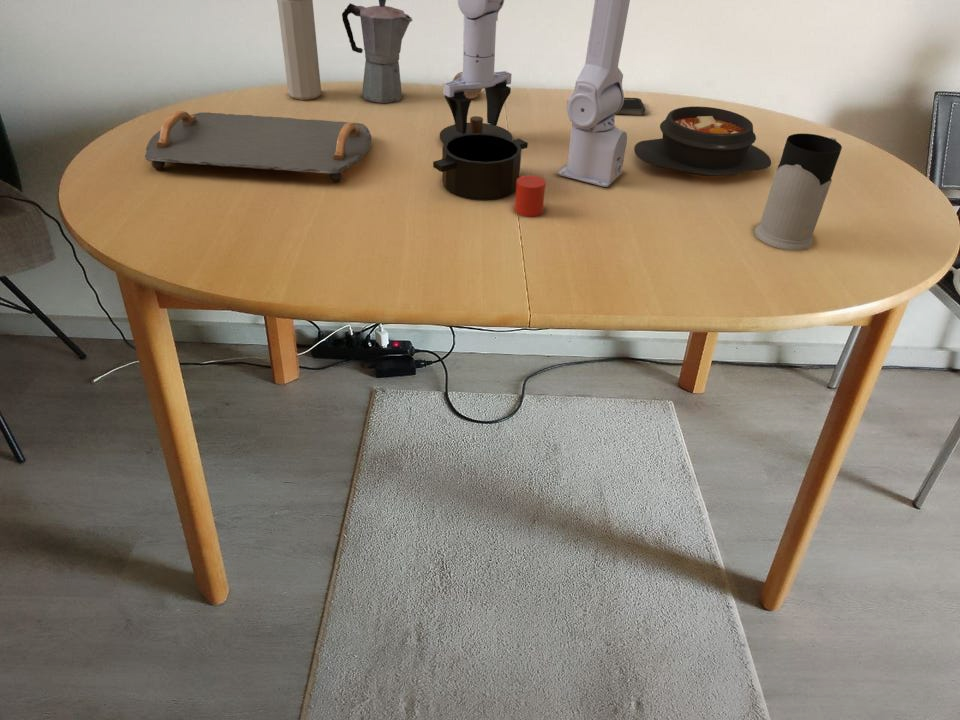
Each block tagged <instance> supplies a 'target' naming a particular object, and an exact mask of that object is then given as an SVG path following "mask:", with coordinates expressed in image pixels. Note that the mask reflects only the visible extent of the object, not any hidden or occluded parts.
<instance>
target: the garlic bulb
mask: <svg viewBox="0 0 960 720" xmlns="http://www.w3.org/2000/svg"><path fill="white" fill-rule="evenodd" d="M462 74H463V71H459V72H458V73H457V74H456V75H455V76H454V77H453V78H452V81H453V80H456V79H458V78H460V77H462ZM482 90H483V89H479V90H474V91H470V92H465V93H464V95H466V98H468V99H476V98H477V97H478V96H479V95H480V93H481V91H482Z"/></svg>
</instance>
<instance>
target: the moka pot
mask: <svg viewBox="0 0 960 720" xmlns="http://www.w3.org/2000/svg"><path fill="white" fill-rule="evenodd" d="M386 3H387V0H378V5H372V6H368V7H367V6H362V5H355V4H353V3H348V5H347V6H346V8H345V9H344V11H343V12H342V13H341V18H342V23H343V25H344V29H345V31H346V34H347V38H348V42H349V43H350V48H351V51H353V52H355V53H357V54H362V53H363V52H364V57H365V64H364V71H363V82H362V91H361V97H362V98H364V99H365V100H366V101H369V102H372V103H378V104H391V103H396V102H399V101H400V100H401V99H402V98H403V92H402V82H401V73H400V61H399V60H400V53H401V50H402V42H403V38H404V37H405V35H406V33H407V30H408V27H409V26H410V23H411V22H413V18H412V17H411V16H410V15H409V14H407V13H405V11H404V10H403V9H399V8H395V7H393V6H389V5H386ZM350 14H353V15H354V16H356V17H359V18H360V25H361V34H362V42H363V48H362V47H358V46H357V43H356V41H355V39H354V34H353V30H352V27H351V24H350V20H349V17H348V16H349V15H350Z"/></svg>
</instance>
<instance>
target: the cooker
mask: <svg viewBox="0 0 960 720" xmlns="http://www.w3.org/2000/svg"><path fill="white" fill-rule="evenodd" d="M528 145H529V143H528V141H526V140H523V139H521V138H514V139H512V140H511V139H509V138H507V137H503V136H499V135H494V134H483V133H474V134H463V135H459V136H455V137H452V138H451V139H449V140H447V141H446V142H445V143H443V145H442V153H441V154H442V158H441V159H437V160H434V161H432V167H433V168H434V169H435V170H438V171H439V172H441V180H442V185H443V188H444V189H445V190H446V191H448V193H450V194H452V195H454V196H457V197H459V198H463V199H468V200H475V201H492V200H500V199H504V198H507V197H509V196H511V195H514V194H515V193H516V180H517V179H518V178H519V177H521V176H520V175H521V174H520V173H521V163H522V150H525V149H528Z"/></svg>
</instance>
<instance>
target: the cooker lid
mask: <svg viewBox="0 0 960 720" xmlns="http://www.w3.org/2000/svg"><path fill="white" fill-rule="evenodd" d="M474 133H483V134H494V135H499V136H503V137H507V138H509V139H511V140H513V135H512V133H511V132H510V131H509V130H508V129H506V128H504V127H502V126H498V125H496V126H493V125H491V124H489V123H485V122H484V118H483V117H482V116H477V115H475V116H470V118H469V122H467V129H466V133H465V134H474ZM459 135H463V134H462V133H460V132H458V131H456V126H455V124H452V125H448V126H445V127H444V128H443V129H442V130H441V131H440V132H439V140H440V141H441V143H442V144H444V143H445V142H446V141H447V140H449V139H451V138H452V137H455V136H459Z"/></svg>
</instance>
